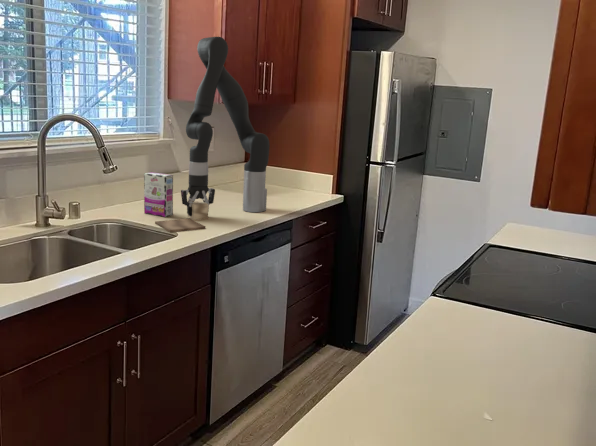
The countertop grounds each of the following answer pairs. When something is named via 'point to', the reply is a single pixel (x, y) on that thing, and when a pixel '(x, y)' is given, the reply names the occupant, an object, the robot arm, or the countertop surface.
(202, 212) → the maple cube
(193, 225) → the walnut board
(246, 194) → the robot arm
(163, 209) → the candy bar box
